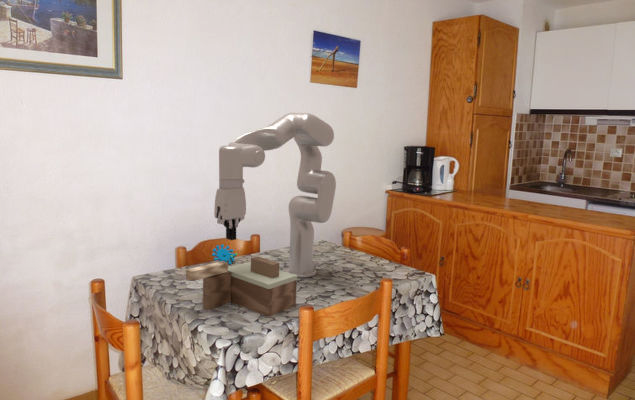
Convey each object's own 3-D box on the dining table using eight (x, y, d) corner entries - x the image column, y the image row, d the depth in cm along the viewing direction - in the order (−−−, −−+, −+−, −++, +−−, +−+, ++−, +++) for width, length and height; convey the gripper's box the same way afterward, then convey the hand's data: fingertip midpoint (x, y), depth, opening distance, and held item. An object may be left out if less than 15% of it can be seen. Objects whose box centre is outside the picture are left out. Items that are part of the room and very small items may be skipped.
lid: (250, 265, 169) (251, 248, 168) (296, 279, 156) (297, 262, 155) (222, 272, 159) (222, 255, 158) (268, 289, 146) (269, 270, 145)
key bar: (221, 269, 156) (221, 260, 156) (227, 271, 154) (227, 262, 154) (186, 279, 145) (186, 269, 145) (191, 281, 144) (192, 271, 143)
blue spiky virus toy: (214, 263, 194) (211, 242, 199) (209, 270, 198) (207, 249, 203) (239, 264, 199) (236, 244, 205) (234, 271, 203) (232, 251, 209)
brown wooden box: (250, 289, 171) (251, 261, 169) (295, 305, 157) (297, 275, 155) (199, 305, 153) (199, 274, 152) (245, 326, 140) (245, 292, 138)
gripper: (240, 180, 160) (240, 233, 164) (204, 185, 149) (205, 241, 152) (256, 183, 156) (255, 237, 159) (220, 187, 144) (220, 245, 148)
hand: (231, 239), depth 156 cm, fingers closed
